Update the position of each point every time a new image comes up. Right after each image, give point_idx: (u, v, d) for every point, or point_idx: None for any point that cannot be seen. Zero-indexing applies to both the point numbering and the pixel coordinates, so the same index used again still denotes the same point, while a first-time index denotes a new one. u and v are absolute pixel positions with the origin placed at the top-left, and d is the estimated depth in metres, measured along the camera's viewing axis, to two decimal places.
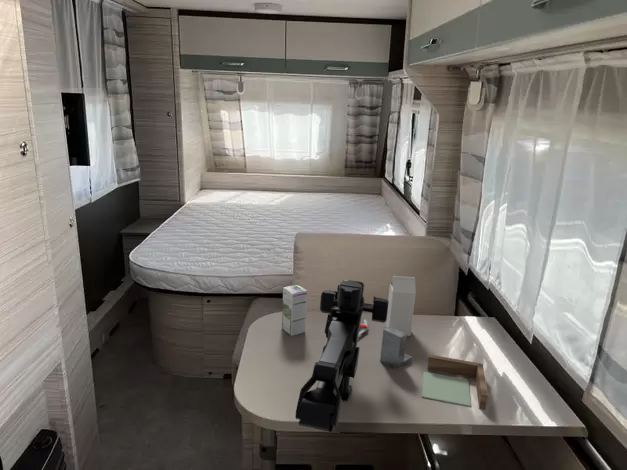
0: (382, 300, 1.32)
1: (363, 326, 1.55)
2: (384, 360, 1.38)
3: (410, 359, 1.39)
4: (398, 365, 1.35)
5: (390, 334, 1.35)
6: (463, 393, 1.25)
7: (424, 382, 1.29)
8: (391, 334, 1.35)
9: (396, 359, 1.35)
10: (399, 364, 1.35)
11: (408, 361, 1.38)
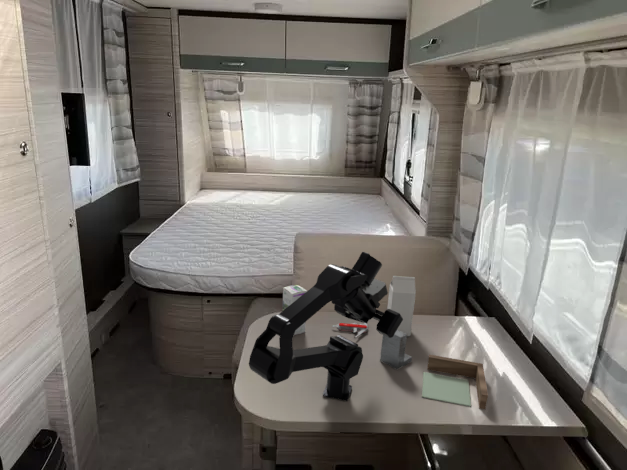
0: None
1: (363, 326, 1.56)
2: (384, 360, 1.38)
3: (410, 359, 1.39)
4: (398, 365, 1.35)
5: None
6: (463, 393, 1.25)
7: (424, 382, 1.29)
8: None
9: (396, 359, 1.35)
10: (399, 364, 1.35)
11: (408, 361, 1.38)
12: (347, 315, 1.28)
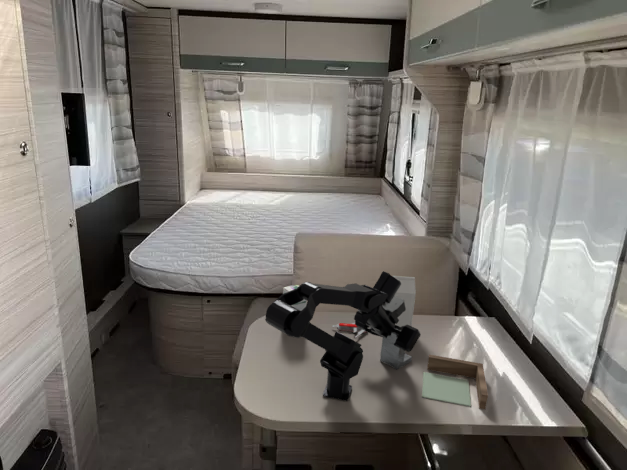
0: None
1: None
2: (384, 360, 1.38)
3: (410, 359, 1.39)
4: (398, 364, 1.35)
5: None
6: (463, 393, 1.25)
7: (424, 382, 1.29)
8: (391, 334, 1.35)
9: (396, 359, 1.35)
10: (399, 364, 1.35)
11: (408, 361, 1.38)
12: (371, 331, 1.35)
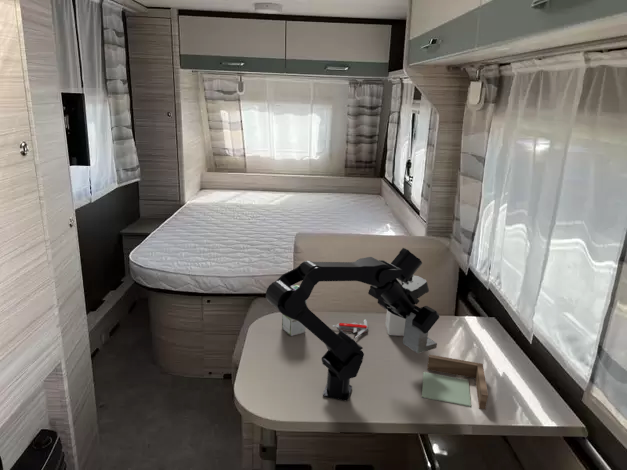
0: None
1: (363, 326, 1.55)
2: (406, 343, 1.34)
3: (435, 345, 1.33)
4: (419, 348, 1.30)
5: (412, 315, 1.30)
6: (463, 393, 1.25)
7: (424, 382, 1.29)
8: (413, 316, 1.30)
9: (416, 342, 1.30)
10: (420, 348, 1.30)
11: (431, 347, 1.33)
12: (393, 311, 1.32)
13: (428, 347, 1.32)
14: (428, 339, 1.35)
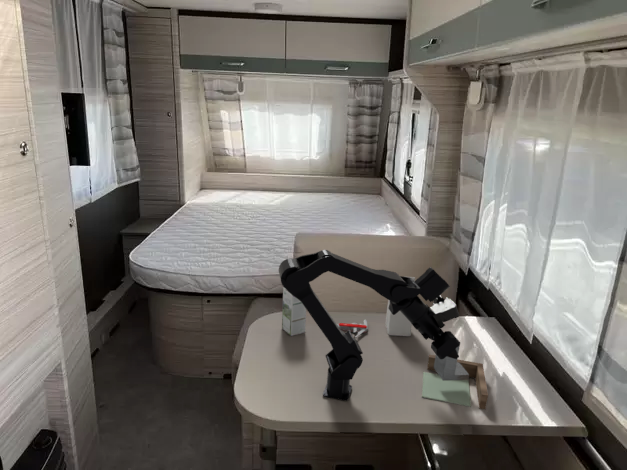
0: (455, 337, 1.15)
1: (363, 326, 1.56)
2: (436, 368, 1.27)
3: (466, 376, 1.24)
4: (445, 376, 1.23)
5: None
6: (463, 393, 1.25)
7: (424, 382, 1.29)
8: None
9: (443, 369, 1.23)
10: (447, 376, 1.23)
11: (462, 377, 1.24)
12: None
13: (457, 377, 1.24)
14: (462, 369, 1.26)
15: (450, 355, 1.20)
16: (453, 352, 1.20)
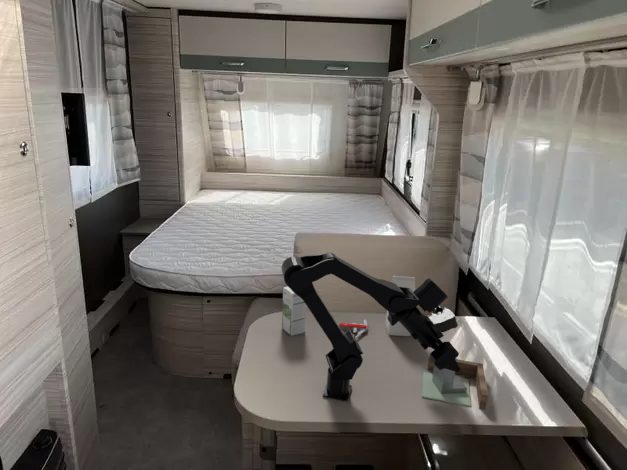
0: (454, 348, 1.15)
1: (363, 326, 1.56)
2: (434, 381, 1.28)
3: (464, 390, 1.25)
4: (443, 389, 1.24)
5: None
6: (463, 393, 1.25)
7: (424, 382, 1.29)
8: None
9: (441, 382, 1.24)
10: (445, 389, 1.24)
11: (460, 391, 1.25)
12: None
13: (455, 390, 1.25)
14: (460, 382, 1.28)
15: (451, 368, 1.20)
16: (454, 365, 1.19)
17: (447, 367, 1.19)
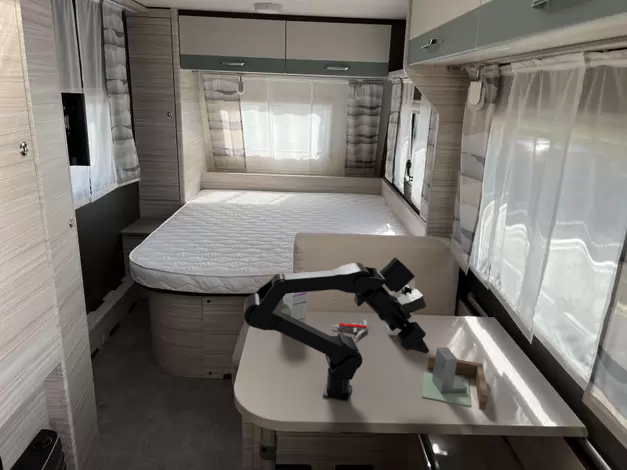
0: (421, 328, 1.13)
1: (363, 326, 1.56)
2: (434, 381, 1.28)
3: (464, 390, 1.25)
4: (443, 389, 1.24)
5: (440, 354, 1.25)
6: (463, 393, 1.25)
7: (424, 382, 1.29)
8: (441, 354, 1.25)
9: (441, 382, 1.24)
10: (445, 389, 1.24)
11: (460, 391, 1.25)
12: None
13: (455, 390, 1.25)
14: (460, 382, 1.28)
15: (420, 349, 1.17)
16: (423, 346, 1.16)
17: (415, 348, 1.16)
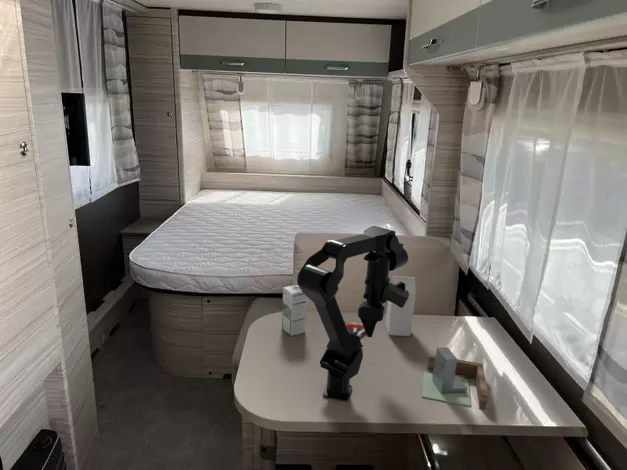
0: (383, 313, 1.19)
1: (363, 326, 1.56)
2: (434, 381, 1.28)
3: (464, 390, 1.25)
4: (443, 389, 1.24)
5: (440, 354, 1.25)
6: (463, 393, 1.25)
7: (424, 382, 1.29)
8: (441, 354, 1.25)
9: (441, 382, 1.24)
10: (445, 389, 1.24)
11: (460, 391, 1.25)
12: None
13: (455, 390, 1.25)
14: (460, 382, 1.28)
15: (366, 328, 1.24)
16: (370, 329, 1.23)
17: (364, 324, 1.23)
